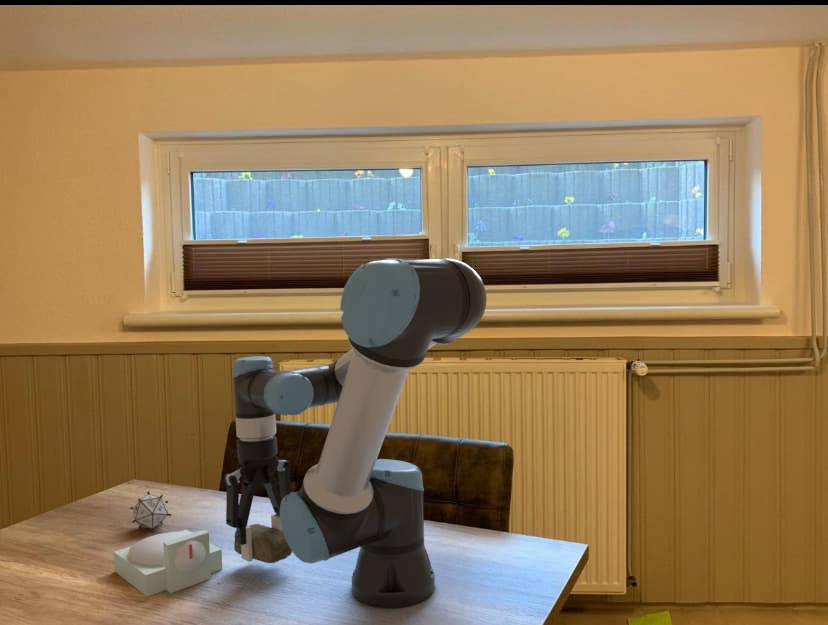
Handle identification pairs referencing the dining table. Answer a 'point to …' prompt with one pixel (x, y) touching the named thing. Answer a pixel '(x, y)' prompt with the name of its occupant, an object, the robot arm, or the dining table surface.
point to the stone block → (266, 544)
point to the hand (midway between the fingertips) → (262, 553)
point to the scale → (168, 561)
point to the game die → (150, 511)
